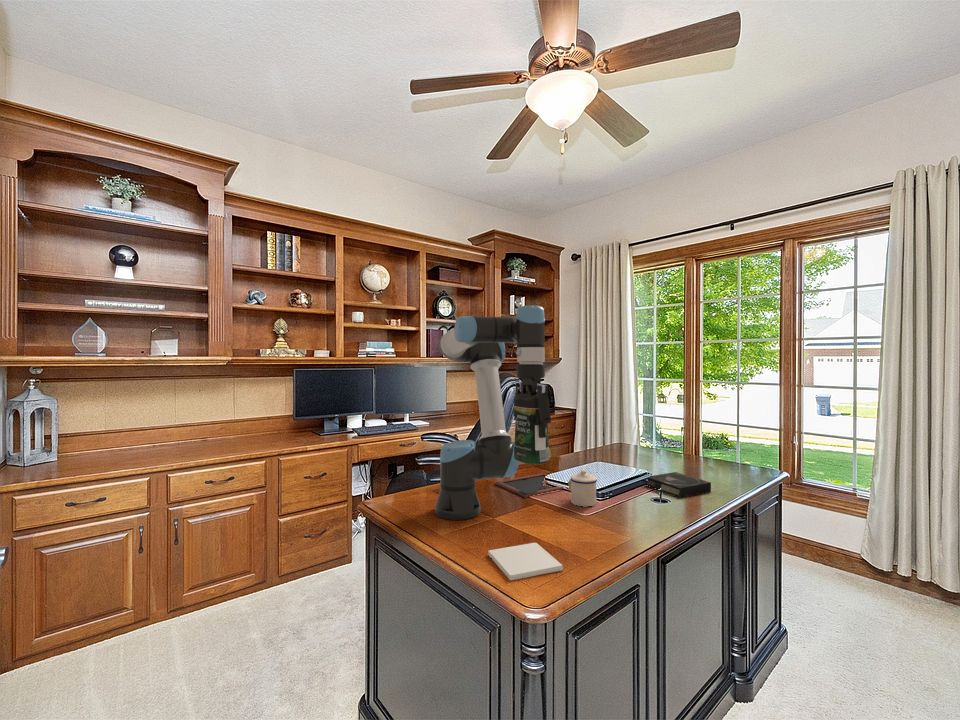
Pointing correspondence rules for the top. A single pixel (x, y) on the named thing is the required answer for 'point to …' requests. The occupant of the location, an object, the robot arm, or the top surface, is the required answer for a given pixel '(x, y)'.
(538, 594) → the top surface
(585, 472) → the teacup with lid
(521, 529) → the top surface
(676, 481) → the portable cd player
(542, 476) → the picture frame
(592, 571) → the top surface
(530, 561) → the coaster board
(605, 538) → the top surface
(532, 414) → the coffee jar
